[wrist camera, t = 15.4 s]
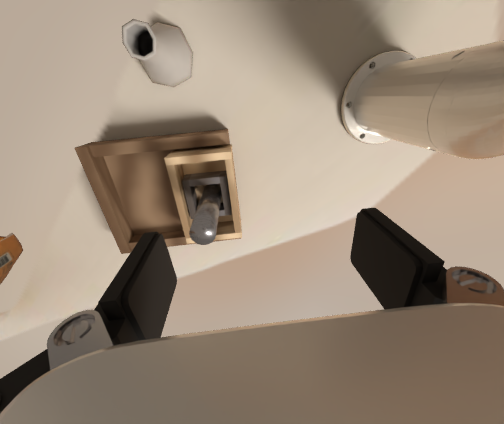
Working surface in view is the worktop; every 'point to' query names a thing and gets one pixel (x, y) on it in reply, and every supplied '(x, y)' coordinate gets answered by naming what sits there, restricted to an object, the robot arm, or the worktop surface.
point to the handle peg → (206, 215)
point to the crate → (196, 178)
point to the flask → (159, 51)
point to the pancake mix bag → (8, 254)
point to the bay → (140, 183)
